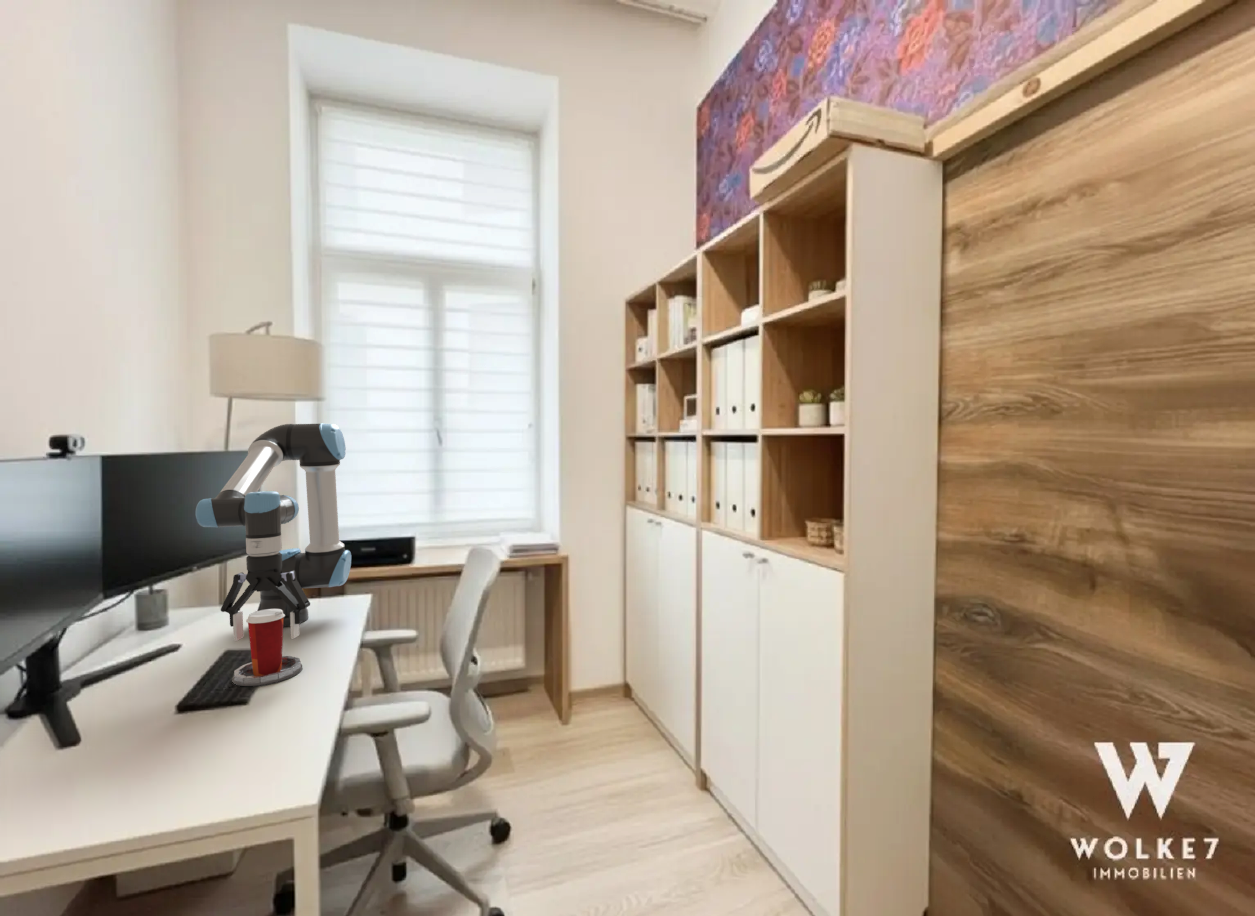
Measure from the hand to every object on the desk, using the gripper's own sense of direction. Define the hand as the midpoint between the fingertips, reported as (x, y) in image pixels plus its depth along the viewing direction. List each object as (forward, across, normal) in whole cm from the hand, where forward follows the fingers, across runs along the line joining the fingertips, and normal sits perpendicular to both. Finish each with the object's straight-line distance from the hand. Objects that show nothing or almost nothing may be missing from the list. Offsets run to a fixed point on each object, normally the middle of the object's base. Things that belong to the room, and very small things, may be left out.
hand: (267, 638), depth 144 cm
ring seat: (+9, 0, 0) cm, 9 cm away
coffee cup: (+9, 0, 0) cm, 9 cm away
